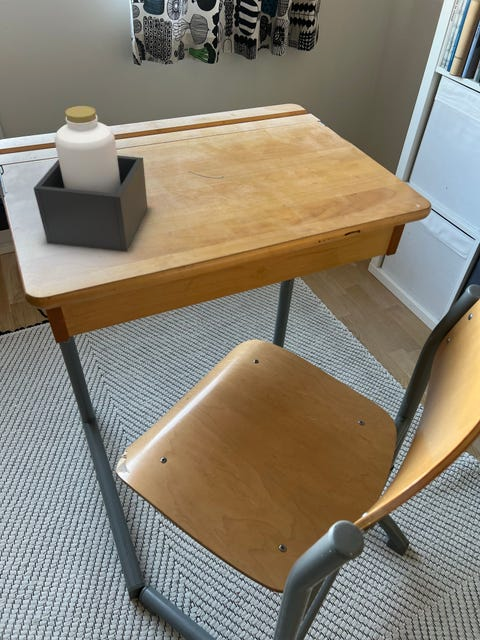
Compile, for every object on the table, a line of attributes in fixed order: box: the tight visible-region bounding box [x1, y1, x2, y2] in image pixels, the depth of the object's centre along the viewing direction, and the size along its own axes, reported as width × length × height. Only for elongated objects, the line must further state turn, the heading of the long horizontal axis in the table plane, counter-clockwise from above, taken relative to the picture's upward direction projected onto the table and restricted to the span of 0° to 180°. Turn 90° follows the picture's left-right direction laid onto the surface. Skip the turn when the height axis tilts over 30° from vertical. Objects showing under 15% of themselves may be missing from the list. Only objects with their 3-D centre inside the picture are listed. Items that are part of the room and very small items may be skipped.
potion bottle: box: [54, 105, 121, 194], centre depth 77 cm, size 8×8×18 cm
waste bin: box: [33, 154, 149, 253], centre depth 80 cm, size 13×13×10 cm
